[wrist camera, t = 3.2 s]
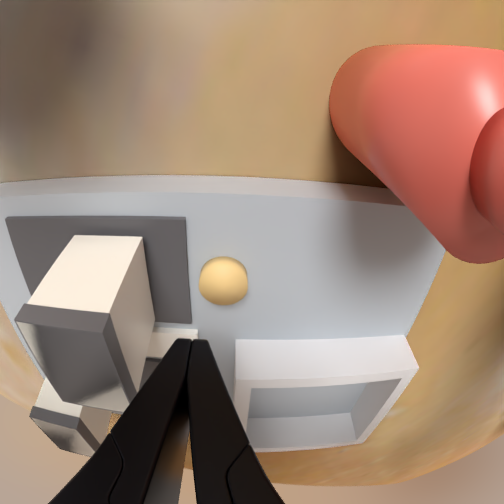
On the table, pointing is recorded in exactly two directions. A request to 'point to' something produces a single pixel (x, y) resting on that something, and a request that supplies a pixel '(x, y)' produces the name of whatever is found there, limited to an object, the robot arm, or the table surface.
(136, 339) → the block
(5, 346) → the table surface
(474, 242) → the pink cylinder with nub
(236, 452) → the robot arm
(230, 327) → the panel
